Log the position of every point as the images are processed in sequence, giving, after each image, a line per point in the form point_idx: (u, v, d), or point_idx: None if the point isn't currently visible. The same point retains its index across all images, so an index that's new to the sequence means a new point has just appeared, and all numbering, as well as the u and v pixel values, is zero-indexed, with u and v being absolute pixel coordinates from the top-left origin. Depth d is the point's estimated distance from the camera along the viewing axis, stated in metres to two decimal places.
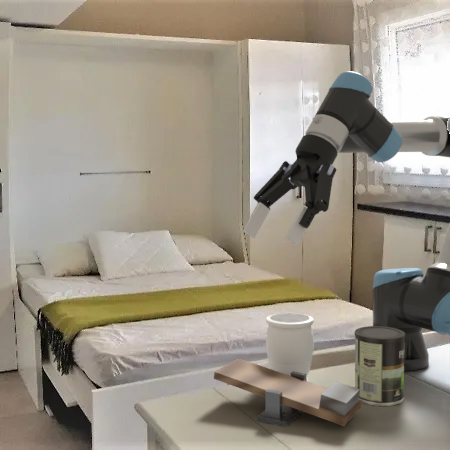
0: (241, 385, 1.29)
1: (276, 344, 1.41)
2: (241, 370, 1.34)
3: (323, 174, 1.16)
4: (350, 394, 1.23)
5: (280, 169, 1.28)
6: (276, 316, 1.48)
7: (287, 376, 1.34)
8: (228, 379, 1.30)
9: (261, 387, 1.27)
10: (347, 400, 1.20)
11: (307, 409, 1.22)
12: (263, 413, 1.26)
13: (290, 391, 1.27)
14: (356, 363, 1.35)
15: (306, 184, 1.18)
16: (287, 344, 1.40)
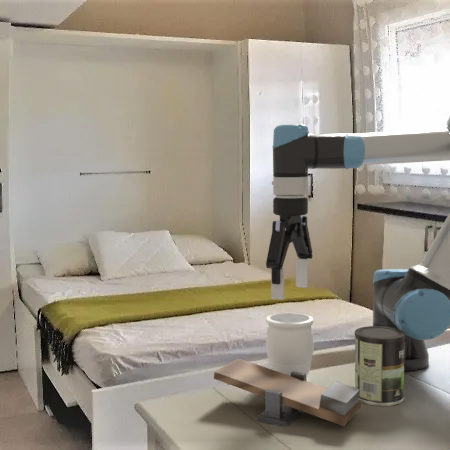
0: (241, 385, 1.29)
1: (276, 344, 1.41)
2: (241, 370, 1.34)
3: (271, 235, 1.36)
4: (350, 394, 1.23)
5: None
6: (276, 316, 1.48)
7: (287, 376, 1.34)
8: (228, 379, 1.30)
9: (261, 387, 1.27)
10: (347, 400, 1.20)
11: (307, 409, 1.22)
12: (263, 413, 1.26)
13: (290, 391, 1.27)
14: (356, 363, 1.35)
15: None
16: (287, 344, 1.40)
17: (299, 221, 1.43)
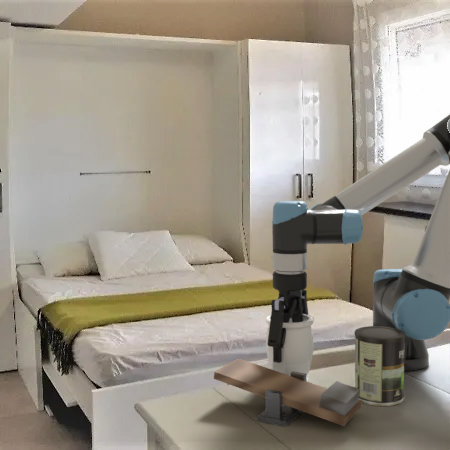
0: (241, 385, 1.29)
1: None
2: (241, 370, 1.34)
3: (271, 314, 1.39)
4: (350, 394, 1.23)
5: None
6: None
7: (287, 376, 1.34)
8: (228, 379, 1.30)
9: (261, 387, 1.27)
10: (347, 400, 1.20)
11: (307, 409, 1.22)
12: (263, 413, 1.26)
13: (290, 391, 1.27)
14: (356, 363, 1.35)
15: None
16: (287, 344, 1.40)
17: (298, 294, 1.45)
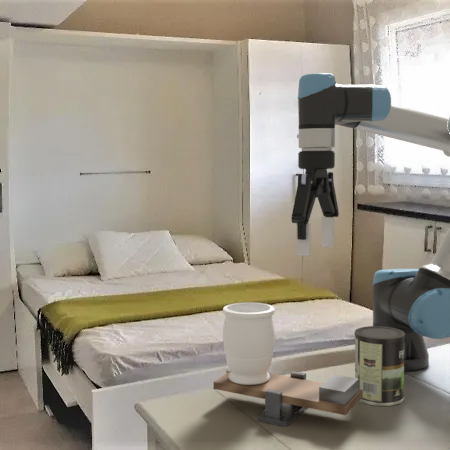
0: (241, 390, 1.29)
1: (233, 336, 1.28)
2: None
3: (297, 188, 1.30)
4: (348, 383, 1.23)
5: None
6: (235, 306, 1.36)
7: (286, 377, 1.34)
8: (227, 386, 1.30)
9: (261, 390, 1.27)
10: (345, 389, 1.20)
11: (307, 404, 1.22)
12: (263, 413, 1.26)
13: (290, 390, 1.27)
14: (356, 363, 1.35)
15: None
16: (244, 336, 1.27)
17: (325, 176, 1.37)
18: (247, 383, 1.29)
